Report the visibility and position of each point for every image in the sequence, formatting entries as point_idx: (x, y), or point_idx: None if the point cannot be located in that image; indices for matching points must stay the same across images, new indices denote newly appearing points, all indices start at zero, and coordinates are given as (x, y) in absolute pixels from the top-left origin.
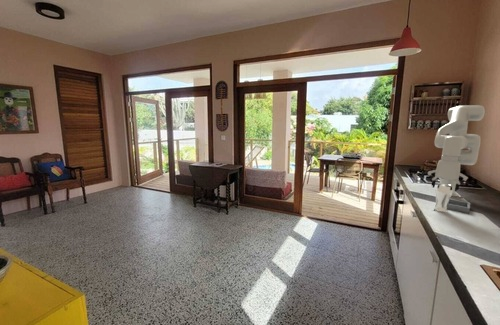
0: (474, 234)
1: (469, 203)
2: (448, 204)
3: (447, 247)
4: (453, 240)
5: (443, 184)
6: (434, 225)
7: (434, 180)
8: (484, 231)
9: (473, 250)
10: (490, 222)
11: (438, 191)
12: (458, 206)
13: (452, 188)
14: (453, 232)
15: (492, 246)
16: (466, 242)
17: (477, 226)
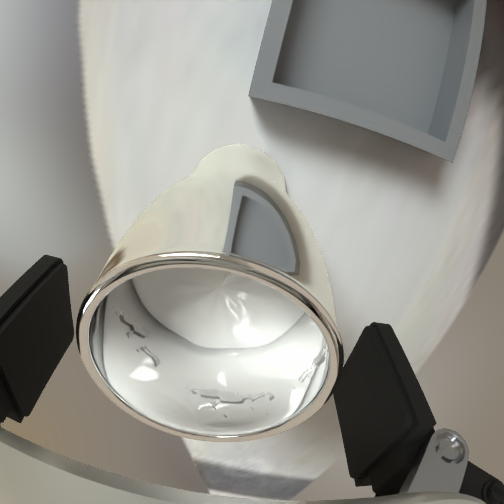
0: (312, 435)
1: (483, 8)
2: (311, 111)
3: (216, 492)
4: (234, 475)
5: (180, 256)
6: None
7: (4, 405)
8: None
9: (267, 488)
10: (468, 271)
11: (148, 336)
12: (386, 134)
13: (324, 368)
14: (245, 447)
15: (324, 466)
16: (265, 473)
17: None
